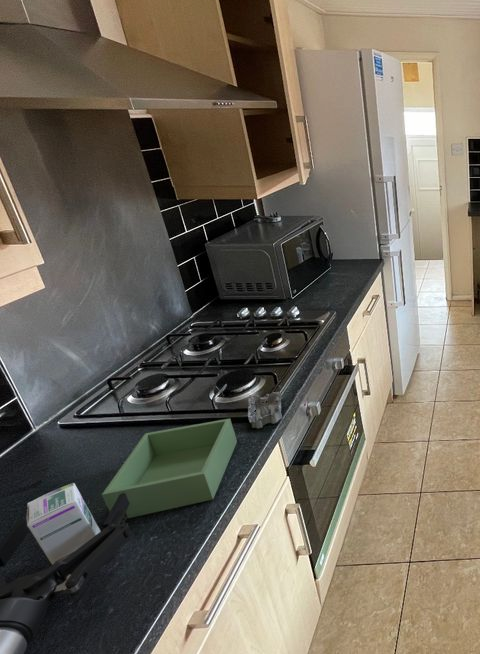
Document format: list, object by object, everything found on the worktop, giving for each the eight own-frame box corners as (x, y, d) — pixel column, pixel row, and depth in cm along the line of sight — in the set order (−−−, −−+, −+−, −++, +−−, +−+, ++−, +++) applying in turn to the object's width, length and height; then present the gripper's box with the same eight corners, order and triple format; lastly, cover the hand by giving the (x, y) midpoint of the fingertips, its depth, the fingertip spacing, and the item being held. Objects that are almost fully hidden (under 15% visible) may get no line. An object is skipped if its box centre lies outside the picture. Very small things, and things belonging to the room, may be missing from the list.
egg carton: (251, 406, 111) (248, 394, 110) (283, 398, 114) (280, 386, 113) (249, 432, 102) (245, 418, 101) (283, 422, 106) (280, 409, 104)
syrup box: (109, 559, 73) (78, 499, 68) (62, 585, 69) (25, 524, 64) (105, 538, 77) (75, 480, 72) (59, 562, 73) (25, 502, 68)
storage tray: (114, 521, 80) (101, 494, 78) (154, 457, 95) (145, 433, 92) (213, 499, 85) (204, 473, 82) (237, 441, 99) (230, 418, 97)
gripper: (-134, 710, 51) (-12, 552, 70) (119, 623, 60) (169, 503, 78) (-170, 675, 49) (-32, 520, 67) (101, 590, 57) (156, 473, 76)
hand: (76, 511), depth 73 cm, fingers open, 13 cm apart
